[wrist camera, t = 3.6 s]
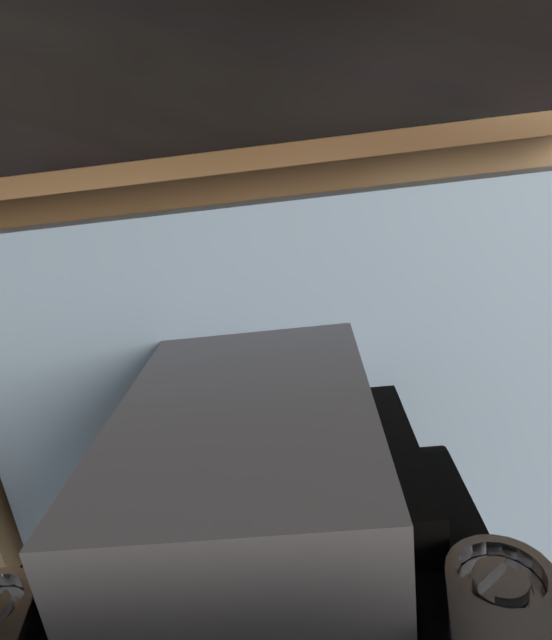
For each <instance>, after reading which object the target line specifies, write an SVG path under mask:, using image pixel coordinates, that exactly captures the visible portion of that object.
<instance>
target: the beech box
mask: <svg viewBox="0 0 552 640" xmlns="http://www.w3.org/2000/svg"><path fill="white" fill-rule="evenodd" d="M545 166H552V110H549V111H541V112H532V113H524V114H515V115H507V116H498V117H490V118H482V119H473V120H465V121H457V122H449V123H440V124H432V125H424V126H416V127H408V128H399V129H391V130H383V131H375V132H367V133H359V134H350V135H342V136H334V137H326V138H318V139H309V140H301V141H293V142H285V143H277V144H269V145H260V146H252V147H244V148H236V149H228V150H219V151H211V152H203V153H195V154H187V155H179V156H170V157H162V158H154V159H146V160H138V161H129V162H121V163H113V164H105V165H97V166H88V167H80V168H72V169H64V170H56V171H48V172H39V173H31V174H23V175H15V176H7V177H0V229H6V228H14V227H23V226H32V225H41V224H49V223H58V222H67V221H75V220H84V219H93V218H101V217H110V216H119V215H128V214H136V213H145V212H154V211H162V210H171V209H180V208H188V207H197V206H206V205H215V204H223V203H232V202H241V201H249V200H258V199H267V198H275V197H284V196H293V195H302V194H310V193H319V192H328V191H336V190H345V189H354V188H362V187H371V186H380V185H389V184H397V183H406V182H415V181H423V180H432V179H441V178H449V177H458V176H467V175H476V174H484V173H493V172H502V171H510V170H519V169H528V168H536V167H545ZM22 548H23V543H22V540H21V537H20V534H19V531H18V528H17V525H16V522H15V519H14V516H13V513H12V510H11V507H10V504H9V501H8V499H7V496H6V493H5V490H4V487H3V484H2V481H1V478H0V567H7V566H16V567H20V566H21V564H22V562H21V559H20V556H19V552H20V551H21V549H22Z"/></svg>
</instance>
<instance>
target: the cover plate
mask: <svg viewBox="0 0 552 640" xmlns="http://www.w3.org/2000/svg"><path fill="white" fill-rule="evenodd" d="M391 385H394V386H395V388H396V391H397V393H398V396H399V398H400V400H401V403H402V405H403V408H404V410H405V413H406V415H407V417H408V420H409V422H410V425H411V427H412V430H413V432H414V434H415V437H416V439H417V442H418V444H419V447H428V446H440V445H443V446H445V447H446V448H447V450H448V451H449V453H450V455H451V457H452V459H453V461H454V463H455V465H456V467H457V469H458V471H459V474H460V476H461V478H462V480H463V482H464V484H465V486H466V488H467V490H468V492H469V494H470V496H471V498H472V500H473V502H474V504H475V506H476V508H477V510H478V512H479V514H480V516H481V518H482V520H483V522H484V524H485V526H486V528H487V530H488V532H489V534H495V535H501V536H507V537H511V538H513V539H516V540H519V541H521V542H524V543H526V544H528V545H530V546H531V547H533V548H534V549H536V550H538V551H539V552H541V553H542V554H543V555H544V556H545V557H546V558H547V559H548V560H549V561H550V562H551V563H552V166H545V167H536V168H528V169H519V170H510V171H502V172H493V173H484V174H476V175H467V176H458V177H449V178H441V179H432V180H423V181H415V182H406V183H397V184H389V185H380V186H371V187H362V188H354V189H345V190H336V191H328V192H319V193H310V194H302V195H293V196H284V197H275V198H267V199H258V200H249V201H241V202H232V203H223V204H215V205H206V206H197V207H188V208H180V209H171V210H162V211H154V212H145V213H136V214H128V215H119V216H110V217H101V218H93V219H84V220H75V221H67V222H58V223H49V224H41V225H32V226H23V227H14V228H6V229H0V478H1V481H2V484H3V487H4V490H5V493H6V496H7V499H8V501H9V504H10V507H11V510H12V513H13V516H14V519H15V522H16V525H17V528H18V531H19V534H20V537H21V540H22V543H23V548H22V549H21V551H20V552H19V556H20V559H21V562H22V565H23V568H24V571H25V574H26V577H27V580H28V583H29V585H30V588H31V591H32V594H33V597H34V600H35V603H36V606H37V609H38V612H39V614H40V617H41V620H42V623H43V626H44V629H45V632H46V635H47V638H48V640H417V616H416V588H415V561H414V533H413V524H412V521H411V517H410V514H409V511H408V508H407V505H406V501H405V498H404V495H403V492H402V488H401V485H400V482H399V479H398V476H397V472H396V469H395V466H394V463H393V459H392V456H391V453H390V450H389V447H388V443H387V440H386V437H385V434H384V430H383V427H382V424H381V421H380V418H379V414H378V411H377V408H376V405H375V401H374V398H373V395H372V392H371V389H370V387H379V386H391Z"/></svg>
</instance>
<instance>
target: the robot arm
mask: <svg viewBox="0 0 552 640" xmlns="http://www.w3.org/2000/svg"><path fill="white" fill-rule="evenodd" d="M370 389H371V392H372V395H373V398H374V401H375V405H376V408H377V411H378V414H379V418H380V421H381V424H382V427H383V430H384V434H385V437H386V440H387V443H388V447H389V450H390V453H391V456H392V459H393V463H394V466H395V469H396V472H397V476H398V479H399V482H400V485H401V488H402V492H403V495H404V498H405V501H406V505H407V508H408V511H409V514H410V517H411V521H412V524H413V533H414V561H415V588H416V616H417V640H552V563H551V562H550V561H549V560H548V559H547V558H546V557H545V556H544V555H543V554H542V553H541V552H539V551H538V550H536V549H534V548H533V547H531V546H530V545H528V544H526V543H524V542H521V541H519V540H516V539H513V538H511V537H507V536H501V535H495V534H489V532H488V530H487V528H486V526H485V524H484V522H483V520H482V518H481V516H480V514H479V512H478V510H477V508H476V506H475V504H474V502H473V500H472V498H471V496H470V494H469V492H468V490H467V488H466V486H465V484H464V482H463V480H462V478H461V476H460V474H459V471H458V469H457V467H456V465H455V463H454V461H453V459H452V457H451V455H450V453H449V451H448V450H447V448H446V447H445V446H443V445H440V446H428V447H419V444H418V442H417V439H416V437H415V434H414V432H413V430H412V427H411V425H410V422H409V420H408V417H407V415H406V413H405V410H404V408H403V405H402V403H401V400H400V398H399V396H398V393H397V391H396V388H395V386H394V385H391V386H379V387H370ZM0 640H48V638H47V635H46V632H45V629H44V626H43V623H42V620H41V617H40V614H39V612H38V609H37V606H36V603H35V600H34V597H33V594H32V591H31V588H30V585H29V583H28V580H27V577H26V574H25V571H24V568H23V565H22V564H21V566H20V567H16V566H7V567H0Z"/></svg>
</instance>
